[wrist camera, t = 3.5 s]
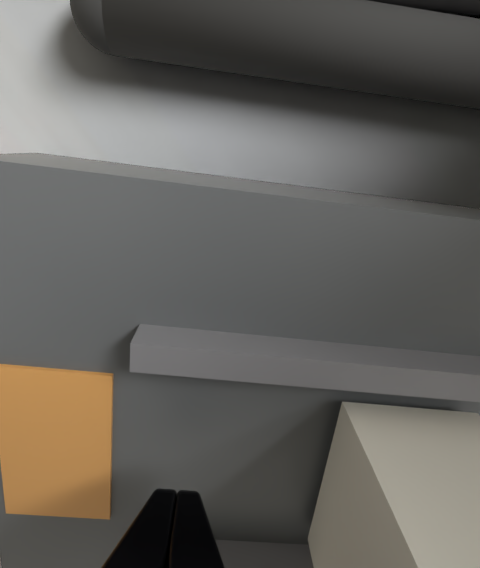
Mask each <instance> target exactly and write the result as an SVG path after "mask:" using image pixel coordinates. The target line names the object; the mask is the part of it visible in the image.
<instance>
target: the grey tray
mask: <svg viewBox="0 0 480 568" xmlns="http://www.w3.org/2000/svg"><path fill="white" fill-rule="evenodd" d="M342 402H354V403H366V404H378V405H390V406H401V407H413V408H425V409H437V410H449V411H461V412H472V413H478V414H479V415H480V209H477V208H470V207H462V206H454V205H446V204H438V203H430V202H422V201H414V200H406V199H398V198H390V197H382V196H374V195H366V194H358V193H350V192H342V191H335V190H327V189H319V188H311V187H303V186H295V185H287V184H279V183H271V182H263V181H255V180H247V179H239V178H231V177H223V176H215V175H207V174H200V173H192V172H184V171H176V170H168V169H160V168H152V167H144V166H136V165H128V164H120V163H112V162H104V161H96V160H88V159H80V158H72V157H65V156H57V155H49V154H41V153H19V154H0V557H1V566H2V568H101V567H102V566H103V564H104V563H105V561H106V560H107V558H108V557H109V555H110V554H111V553H112V551H113V550H114V548H115V547H116V545H117V544H118V542H119V541H120V539H121V538H122V537H123V535H124V534H125V532H126V531H127V529H128V528H129V526H130V525H131V523H132V522H133V521H134V519H135V518H136V516H137V515H138V513H139V512H140V510H141V509H142V507H143V506H144V505H145V503H146V502H147V500H148V499H149V497H150V496H151V494H152V493H153V492H154V491H155V490H156V489H158V488H162V489H174V490H175V491H176V492H177V493H178V491H180V490H190V491H197V492H199V494H200V496H201V499H202V502H203V505H204V508H205V511H206V514H207V517H208V520H209V523H210V526H211V529H212V532H213V535H214V538H215V541H216V544H217V546H218V549H219V552H220V555H221V558H222V561H223V564H224V567H225V568H314V567H313V562H312V558H311V553H310V548H309V543H308V535H309V531H310V527H311V523H312V519H313V515H314V511H315V507H316V503H317V499H318V495H319V491H320V487H321V483H322V479H323V475H324V471H325V467H326V463H327V459H328V455H329V451H330V447H331V444H332V440H333V436H334V432H335V428H336V424H337V420H338V416H339V412H340V408H341V404H342Z"/></svg>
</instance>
